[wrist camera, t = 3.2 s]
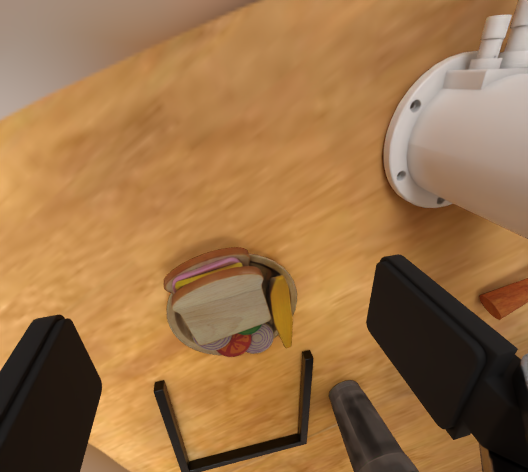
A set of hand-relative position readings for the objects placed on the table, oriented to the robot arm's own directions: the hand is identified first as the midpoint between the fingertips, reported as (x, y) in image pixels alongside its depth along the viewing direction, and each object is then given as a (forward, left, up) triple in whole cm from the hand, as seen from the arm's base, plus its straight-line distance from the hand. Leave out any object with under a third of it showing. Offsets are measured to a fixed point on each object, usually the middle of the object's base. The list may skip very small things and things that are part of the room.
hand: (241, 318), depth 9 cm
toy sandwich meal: (+12, 0, -16) cm, 20 cm away
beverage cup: (+32, +15, -16) cm, 39 cm away
